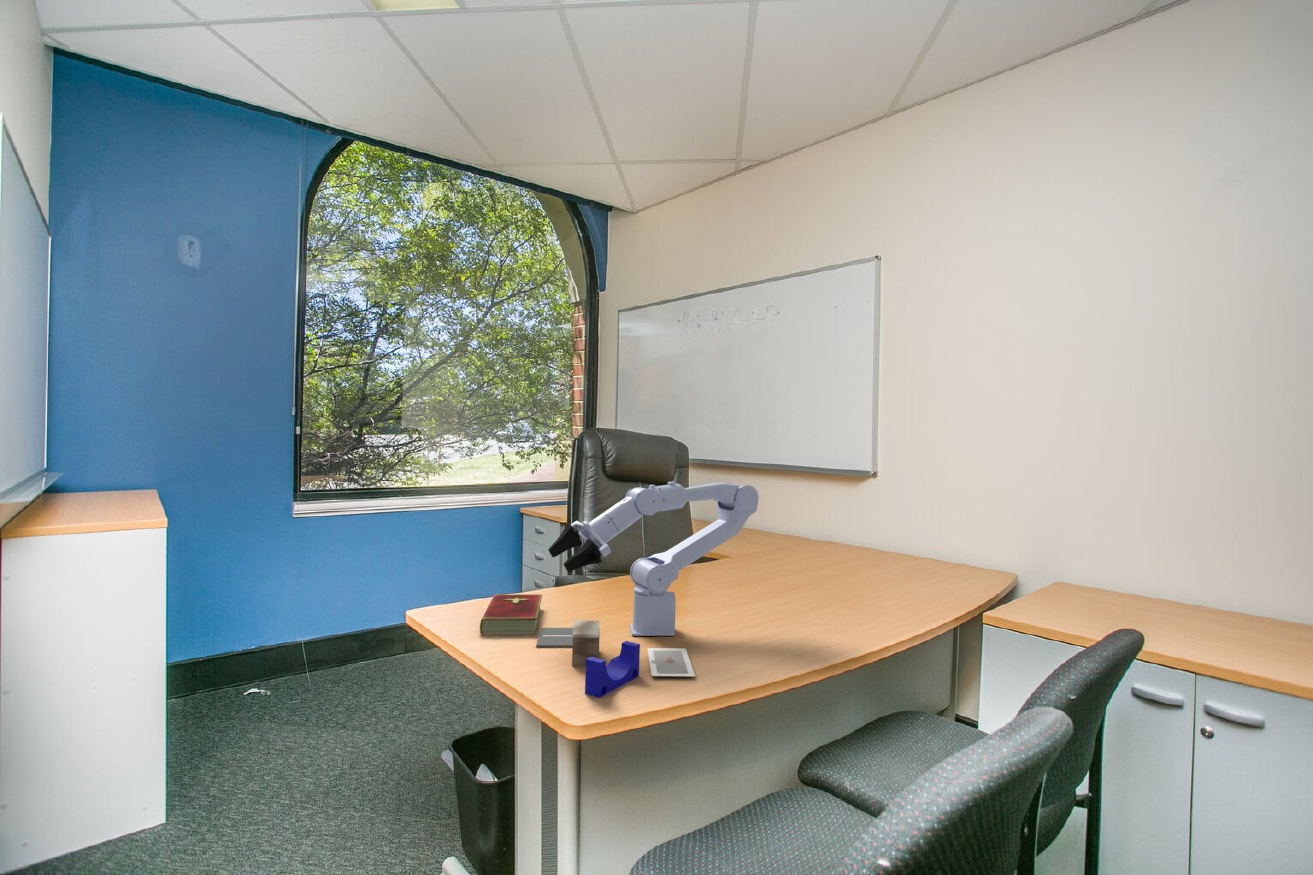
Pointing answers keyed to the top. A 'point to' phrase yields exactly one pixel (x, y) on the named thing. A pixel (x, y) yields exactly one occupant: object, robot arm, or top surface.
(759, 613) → the top surface
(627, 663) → the blue cradle bracket
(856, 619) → the top surface
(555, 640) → the mat
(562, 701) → the top surface
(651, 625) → the robot arm
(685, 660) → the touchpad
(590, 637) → the card box
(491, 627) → the hardcover book
